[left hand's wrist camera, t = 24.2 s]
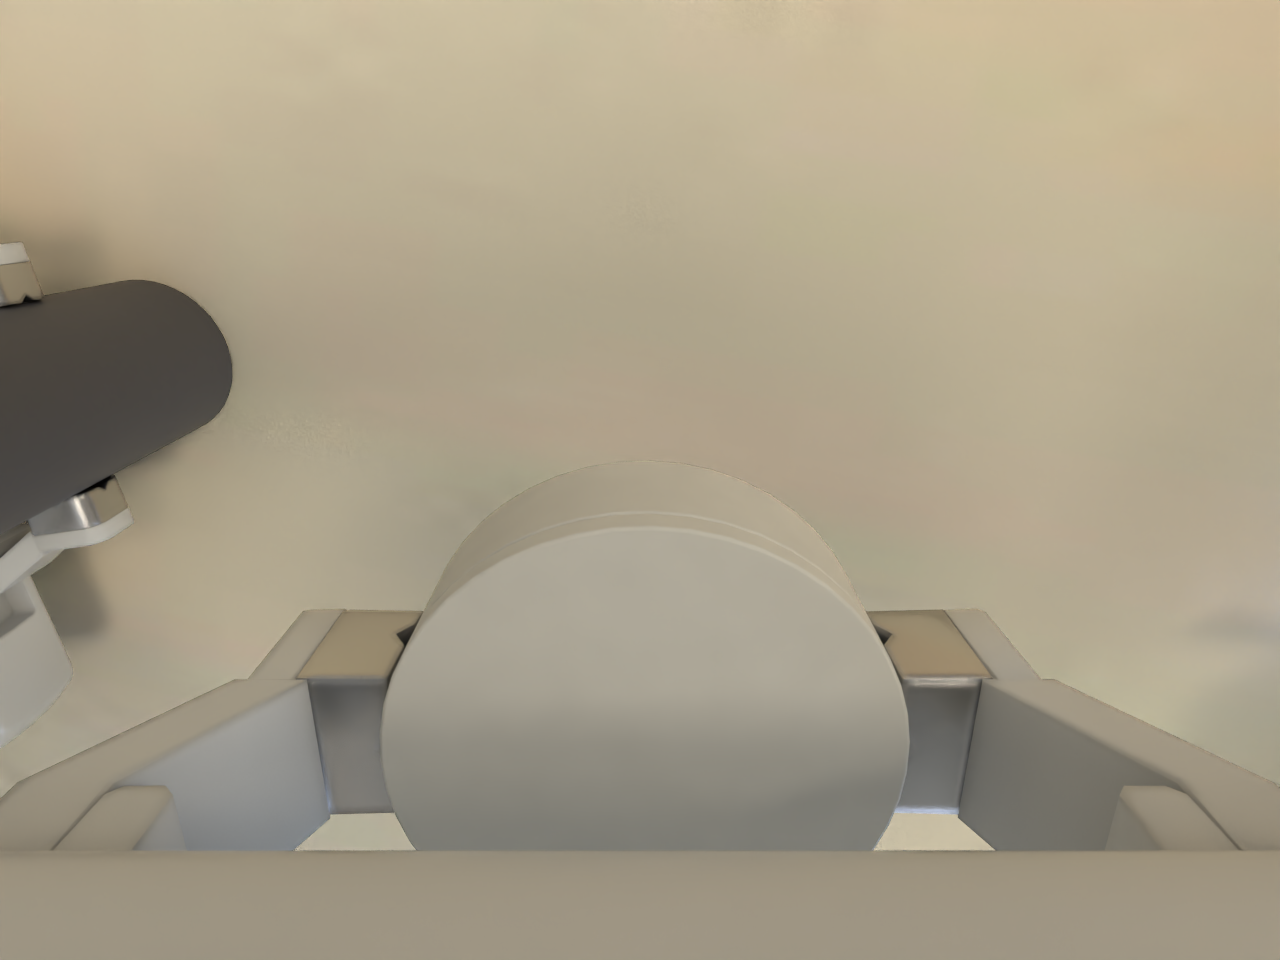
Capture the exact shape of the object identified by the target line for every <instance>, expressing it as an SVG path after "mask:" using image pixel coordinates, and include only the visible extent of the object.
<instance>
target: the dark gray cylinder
mask: <svg viewBox="0 0 1280 960" xmlns="http://www.w3.org/2000/svg"><path fill="white" fill-rule="evenodd" d="M231 382H232V364H231V358H230V354H229V350H228V347H227V344H226V342H225V340H224V337H223V335H222V334H221V332H220V330H219V328H218V327H217V325H216V324H215V322H214V321H213V320H212V318H211V317H210V316H209V315H208V314H207V313H206V312H205V311H204V309H202V308H201V307H200V306H199V305H198V304H197V303H196V302H195V301H193V300H192V299H190V298H189V297H187V296H186V295H184V294H183V293H181V292H179V291H177V290H175V289H173V288H171V287H168V286H166V285H163V284H160V283H156V282H152V281H145V280H128V281H120V282H115V283H110V284H104V285H99V286H93V287H88V288H83V289H77V290H72V291H66V292H61V293H55V294H50V295H45V296H44V298H43V299H38V300H33V301H26V302H22V303H16V304H10V305H5V306H0V535H1V534H3V533H5V532H7V531H8V530H10V529H12V528H14V527H16V526H18V525H20V524H21V523H23V522H25V521H27V520H29V519H31V518H32V517H34V516H36V515H38V514H40V513H42V512H44V511H45V510H47V509H49V508H51V507H53V506H55V505H57V504H58V503H60V502H62V501H64V500H66V499H68V498H70V497H71V496H73V495H75V494H77V493H79V492H81V491H83V490H84V489H86V488H88V487H90V486H92V485H94V484H96V483H97V482H99V481H101V480H103V479H105V478H107V477H108V476H110V475H112V474H114V473H116V472H118V471H120V470H121V469H123V468H125V467H127V466H129V465H131V464H133V463H134V462H136V461H138V460H140V459H142V458H144V457H146V456H147V455H149V454H151V453H153V452H155V451H157V450H159V449H160V448H162V447H164V446H166V445H168V444H170V443H171V442H173V441H175V440H177V439H179V438H181V437H183V436H184V435H186V434H188V433H190V432H192V431H194V430H196V429H197V428H199V427H201V426H203V425H204V424H206V423H208V422H209V421H210V420H211V419H213V418H214V417H215V416H216V415H217V414H218V412H219V411H220V410H221V409H222V407H223V405H224V404H225V402H226V400H227V397H228V395H229V391H230V388H231Z"/></svg>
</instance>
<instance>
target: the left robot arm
mask: <svg viewBox="0 0 1280 960" xmlns="http://www.w3.org/2000/svg"><path fill="white" fill-rule="evenodd" d="M423 612H424V611H396V610H346V609H318V610H306V611H303V612H302V613H301V614H300V615H299V616H298V618H297V619H296V620H295V621H294V623H293V624H292V625H291V626H290V627H289V629H288V630H287V631H286V632H285V634H284V635H283V636H282V637H281V639H280V640H279V641H278V642H277V643H276V645H275V646H274V647H273V648H272V650H271V651H270V652H269V653H268V655H267V656H266V657H265V658H264V660H263V661H262V662H261V663H260V664H259V666H258V667H257V668H256V669H255V671H254V672H253V673H252V674H251V676H250V677H249V678H248V679H237V680H232V681H230V682H228V683H226V684H224V685H222V686H220V687H218V688H216V689H213V690H211V691H209V692H207V693H205V694H203V695H201V696H199V697H197V698H194V699H192V700H190V701H188V702H186V703H184V704H182V705H180V706H178V707H175V708H173V709H171V710H169V711H167V712H165V713H163V714H161V715H159V716H157V717H154V718H152V719H150V720H148V721H146V722H144V723H142V724H140V725H138V726H135V727H133V728H131V729H129V730H127V731H125V732H123V733H121V734H119V735H116V736H114V737H112V738H110V739H108V740H106V741H104V742H102V743H100V744H97V745H95V746H93V747H91V748H89V749H87V750H85V751H83V752H81V753H78V754H76V755H74V756H72V757H70V758H68V759H66V760H64V761H62V762H59V763H57V764H55V765H53V766H51V767H49V768H47V769H45V770H43V771H40V772H38V773H36V774H34V775H32V776H30V777H28V778H26V779H24V780H22V781H19V782H17V783H16V784H15V785H14V786H13V787H12V788H11V789H10V790H9V791H8V792H7V793H6V794H5V795H4V796H3V797H2V798H1V799H0V960H1280V787H1278V786H1277V785H1276V784H1275V783H1273V782H1271V781H1269V780H1267V779H1265V778H1262V777H1260V776H1258V775H1256V774H1254V773H1252V772H1250V771H1248V770H1246V769H1243V768H1241V767H1239V766H1237V765H1235V764H1233V763H1231V762H1229V761H1226V760H1224V759H1222V758H1220V757H1218V756H1216V755H1214V754H1212V753H1209V752H1207V751H1205V750H1203V749H1201V748H1199V747H1197V746H1195V745H1192V744H1190V743H1188V742H1186V741H1184V740H1182V739H1180V738H1178V737H1175V736H1173V735H1171V734H1169V733H1167V732H1165V731H1163V730H1161V729H1158V728H1156V727H1154V726H1152V725H1150V724H1148V723H1146V722H1144V721H1141V720H1139V719H1137V718H1135V717H1133V716H1131V715H1129V714H1127V713H1124V712H1122V711H1120V710H1118V709H1116V708H1114V707H1112V706H1110V705H1107V704H1105V703H1103V702H1101V701H1099V700H1097V699H1095V698H1093V697H1090V696H1088V695H1086V694H1084V693H1082V692H1080V691H1078V690H1076V689H1073V688H1071V687H1069V686H1067V685H1065V684H1063V683H1061V682H1059V681H1056V680H1053V679H1041V678H1040V677H1039V676H1038V675H1037V673H1036V672H1035V671H1034V670H1033V669H1032V667H1031V666H1030V665H1029V664H1028V663H1027V661H1026V660H1025V659H1024V658H1023V657H1022V655H1021V654H1020V653H1019V652H1018V651H1017V649H1016V648H1015V647H1014V646H1013V645H1012V643H1011V642H1010V641H1009V640H1008V639H1007V637H1006V636H1005V635H1004V634H1003V633H1002V631H1001V630H1000V629H999V628H998V627H997V625H996V624H995V623H994V622H993V621H992V619H991V618H990V617H989V616H988V615H987V613H986V612H984V611H982V610H979V609H957V610H906V611H866V613H867V615H868V617H869V619H870V621H871V623H872V625H873V626H874V628H875V630H876V632H877V634H878V636H879V638H880V640H881V642H882V644H883V646H884V647H885V649H886V651H887V653H888V655H889V657H890V659H891V662H892V664H893V667H894V669H895V671H896V674H897V676H898V679H899V681H900V684H901V686H902V691H903V695H904V699H905V704H906V708H907V712H908V723H909V738H910V745H909V755H908V766H907V773H906V777H905V781H904V785H903V789H902V793H901V796H900V800H899V802H898V805H897V807H896V809H895V812H894V813H928V814H958V818H959V819H960V820H961V821H962V822H964V823H965V824H966V825H967V826H968V827H969V828H971V829H972V830H973V831H974V832H975V833H976V834H978V835H979V836H980V837H981V838H982V839H983V840H984V841H986V842H987V843H988V844H989V845H990V846H991V847H993V848H994V849H995V850H996V851H293V850H294V849H295V848H296V847H297V846H299V845H300V844H301V843H302V842H303V841H304V840H306V839H307V838H308V837H309V836H310V835H311V834H312V833H314V832H315V831H316V830H317V829H318V828H319V827H321V826H322V825H323V824H324V823H325V822H326V821H327V820H329V819H330V814H359V813H394V809H393V806H392V804H391V801H390V798H389V795H388V793H387V790H386V785H385V780H384V775H383V770H382V764H381V752H380V727H381V719H382V711H383V704H384V700H385V697H386V694H387V690H388V687H389V684H390V680H391V677H392V674H393V672H394V670H395V668H396V666H397V664H398V662H399V660H400V658H401V656H402V654H403V652H404V650H405V647H406V646H407V644H408V642H409V640H410V638H411V636H412V634H413V632H414V630H415V628H416V626H417V624H418V622H419V620H420V618H421V616H422V614H423Z"/></svg>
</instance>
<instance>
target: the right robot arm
mask: <svg viewBox="0 0 1280 960" xmlns="http://www.w3.org/2000/svg"><path fill="white" fill-rule="evenodd" d="M23 262H24V263H23ZM43 298H44V295H43V293H42V290H41V287H40V285H39V282H38V280H37V277H36V274H35V272H34V269H33V267H32V264H31V262H29V258H28V255H27V253H26V250H25V248H24V245H23V242H16V243H5V244H0V306H5V305H10V304H16V303H22V302H26V301H33V300H38V299H43ZM27 521H28V524H29V525H28V524H26V523H25V524H20V525H18V526H16V527H14V528H12V529H10V530H8V531H7V532H5V533H3V534H1V535H0V749H1V748H2V747H4V746H5V745H7V744H8V743H9V742H11V741H12V740H13V739H15V738H16V737H17V736H19V735H20V734H21V733H22V732H24V731H25V730H26V729H27V728H29V727H30V726H31V725H32V724H33V723H34V722H35V721H36V720H38V719H39V718H40V717H41V716H42V715H43V714H44V713H45V712H46V711H47V710H48V709H49V708H50V707H51V706H52V705H53V703H54V702H55V701H56V700H57V699H58V698H59V696H60V695H61V694H62V692H63V691H64V690H65V688H66V687H67V685H68V684H69V682H70V681H71V679H72V677H73V667H72V664H71V661H70V659H69V657H68V655H67V653H66V650H65V648H64V646H63V644H62V642H61V640H60V638H59V636H58V633H57V631H56V629H55V627H54V625H53V623H52V621H51V618H50V616H49V614H48V612H47V610H46V608H45V606H44V603H43V601H42V599H41V597H40V595H39V593H38V590H37V588H36V586H35V584H34V582H33V580H32V577H31V575H32V574H33V573H35V572H36V571H38V570H40V569H41V568H43V567H44V566H46V565H48V564H49V563H50V562H51V561H52V560H54V559H55V558H56V557H57V556H58V555H59V554H60V553H61V552H62V551H63V550H64V549H69V548H76V547H84V546H91V545H94V544H97V543H100V542H103V541H106V540H108V539H110V538H112V537H114V536H115V535H117V534H118V533H120V532H121V531H123V530H124V529H126V528H127V527H129V526H130V525H132V524H134V519H133V516H132V514H131V512H130V509H129V507H128V504H127V502H126V500H125V498H124V495H123V493H122V491H121V488H120V486H119V484H118V481H117V479H116V477H115V475H110V476H108V477H107V478H105V479H103V480H101V481H99V482H97V483H96V484H94V485H92V486H90V487H88V488H86V489H84V490H83V491H81V492H79V493H77V494H75V495H73V496H71V497H70V498H68V499H66V500H64V501H62V502H60V503H58V504H57V505H55V506H53V507H51V508H49V509H47V510H45V511H44V512H42V513H40V514H38V515H36V516H34V517H32V518H31V519H29V520H27Z"/></svg>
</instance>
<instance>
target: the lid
mask: <svg viewBox="0 0 1280 960" xmlns="http://www.w3.org/2000/svg"><path fill="white" fill-rule="evenodd" d="M909 745H910V738H909V723H908V712H907V708H906V704H905V699H904V695H903V691H902V686H901V684H900V681H899V679H898V676H897V674H896V671H895V669H894V667H893V664H892V662H891V659H890V657H889V655H888V653H887V651H886V649H885V647H884V646H883V644H882V642H881V640H880V638H879V636H878V634H877V632H876V630H875V628H874V626H873V625H872V623H871V621H870V619H869V617H868V615H867V613H866V611H865V609H864V607H863V605H862V603H861V602H860V600H859V598H858V596H857V594H856V592H855V590H854V588H853V586H852V584H851V582H850V581H849V579H848V577H847V575H846V573H845V571H844V570H843V568H842V566H841V565H840V563H839V561H838V560H837V558H836V556H835V555H834V553H833V552H832V550H831V549H830V548H829V546H828V545H827V544H826V543H825V542H824V540H823V539H822V538H821V537H820V536H819V534H818V533H817V532H816V531H815V530H814V529H813V528H812V527H811V526H810V525H809V524H808V523H807V522H806V521H805V520H804V519H802V518H801V517H800V516H799V515H798V514H797V513H796V512H795V511H794V510H792V509H791V508H789V507H788V506H786V505H785V504H783V503H782V502H781V501H779V500H778V499H776V498H775V497H773V496H772V495H770V494H769V493H767V492H765V491H763V490H761V489H759V488H757V487H755V486H753V485H751V484H749V483H747V482H745V481H743V480H741V479H738V478H735V477H732V476H729V475H726V474H723V473H720V472H718V471H715V470H711V469H707V468H702V467H697V466H692V465H688V464H683V463H673V462H661V461H626V462H614V463H608V464H602V465H596V466H590V467H585V468H582V469H578V470H575V471H572V472H568V473H565V474H562V475H558V476H556V477H553V478H551V479H549V480H547V481H544V482H542V483H540V484H538V485H535V486H533V487H531V488H529V489H527V490H525V491H524V492H522V493H521V494H519V495H517V496H516V497H514V498H512V499H511V500H509V501H507V502H506V503H504V504H503V505H502V506H500V507H499V508H498V509H497V510H495V511H494V512H493V513H492V514H491V515H489V516H488V517H487V518H486V519H484V520H483V521H482V522H481V523H480V524H479V525H478V526H477V527H476V528H475V529H474V531H473V532H472V533H471V534H470V535H469V536H468V537H467V538H466V539H465V540H464V541H463V542H462V544H461V545H460V547H459V548H458V550H457V551H456V553H455V554H454V555H453V557H452V558H451V560H450V561H449V563H448V564H447V566H446V568H445V570H444V572H443V574H442V576H441V578H440V580H439V582H438V584H437V586H436V588H435V590H434V592H433V594H432V596H431V598H430V600H429V602H428V604H427V606H426V608H425V610H424V612H423V614H422V616H421V618H420V620H419V622H418V624H417V626H416V628H415V630H414V632H413V634H412V636H411V638H410V640H409V642H408V644H407V646H406V647H405V650H404V652H403V654H402V656H401V658H400V660H399V662H398V664H397V666H396V668H395V670H394V672H393V674H392V677H391V680H390V684H389V687H388V690H387V694H386V697H385V700H384V704H383V711H382V719H381V727H380V752H381V764H382V770H383V775H384V780H385V785H386V790H387V793H388V795H389V798H390V801H391V804H392V806H393V809H394V812H395V815H396V817H397V819H398V821H399V822H400V824H401V826H402V828H403V830H404V832H405V834H406V835H407V837H408V839H409V841H410V842H411V844H412V845H413V846H414V848H415V849H416V850H417V851H873V850H874V848H875V847H876V845H877V843H878V842H879V840H880V838H881V837H882V835H883V833H884V832H885V830H886V829H887V827H888V825H889V823H890V821H891V818H892V816H893V814H894V812H895V809H896V807H897V805H898V802H899V800H900V796H901V793H902V789H903V785H904V781H905V777H906V773H907V766H908V755H909Z"/></svg>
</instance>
